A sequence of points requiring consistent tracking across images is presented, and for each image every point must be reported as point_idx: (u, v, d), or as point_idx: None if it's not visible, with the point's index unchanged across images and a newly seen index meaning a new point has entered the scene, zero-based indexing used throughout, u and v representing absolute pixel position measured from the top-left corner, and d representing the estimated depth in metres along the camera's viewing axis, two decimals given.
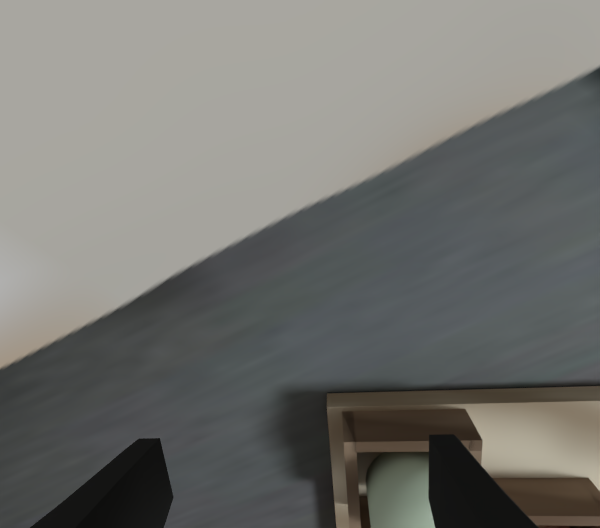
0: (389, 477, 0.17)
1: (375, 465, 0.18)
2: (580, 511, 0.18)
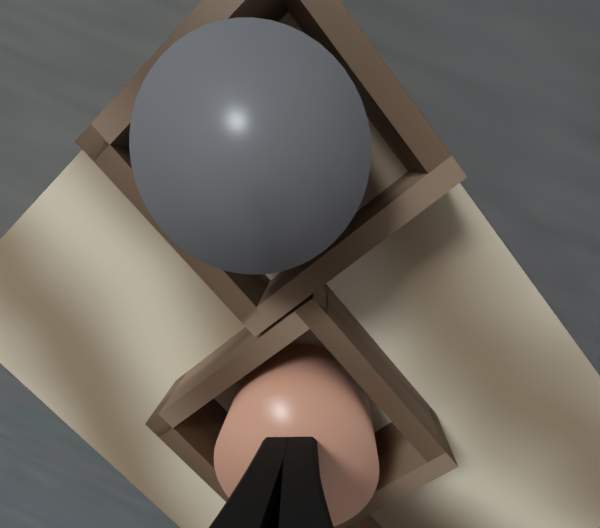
0: None
1: None
2: None
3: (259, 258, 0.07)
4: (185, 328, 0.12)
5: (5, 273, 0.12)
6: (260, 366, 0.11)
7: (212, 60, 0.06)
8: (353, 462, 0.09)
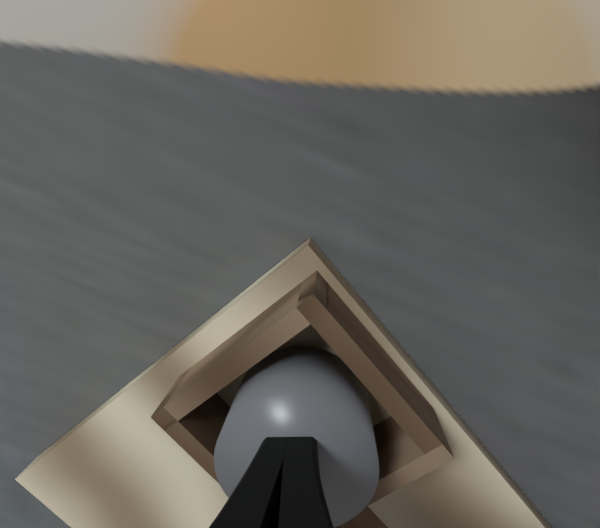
0: None
1: None
2: None
3: None
4: (223, 504, 0.14)
5: (73, 458, 0.14)
6: None
7: (273, 417, 0.09)
8: None
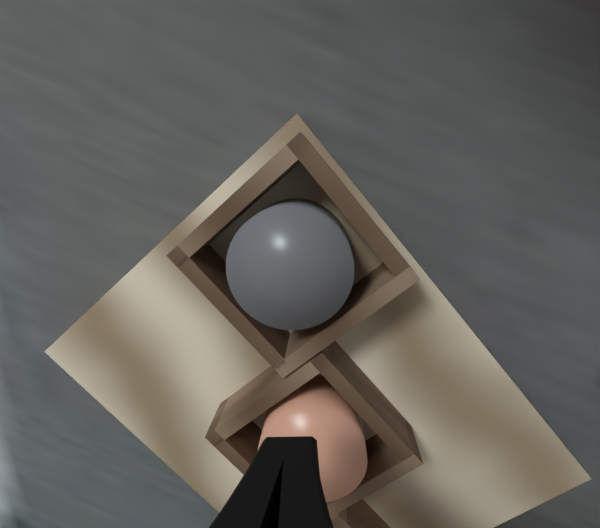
0: None
1: None
2: None
3: (294, 321, 0.13)
4: (227, 366, 0.17)
5: (96, 328, 0.17)
6: None
7: (272, 225, 0.12)
8: (350, 455, 0.14)
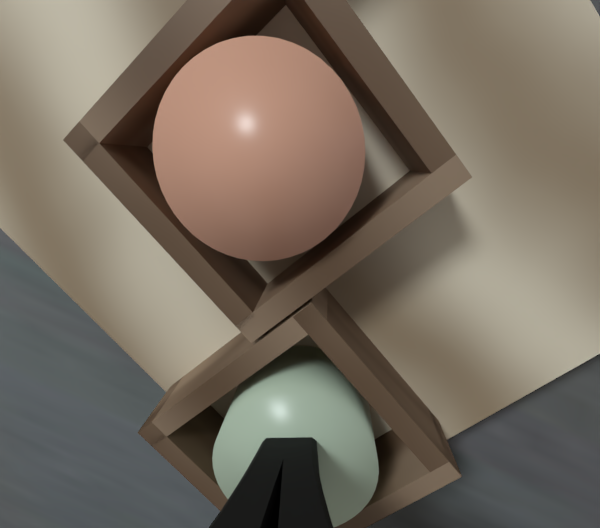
0: None
1: None
2: None
3: None
4: (125, 64, 0.10)
5: None
6: None
7: None
8: (331, 140, 0.07)
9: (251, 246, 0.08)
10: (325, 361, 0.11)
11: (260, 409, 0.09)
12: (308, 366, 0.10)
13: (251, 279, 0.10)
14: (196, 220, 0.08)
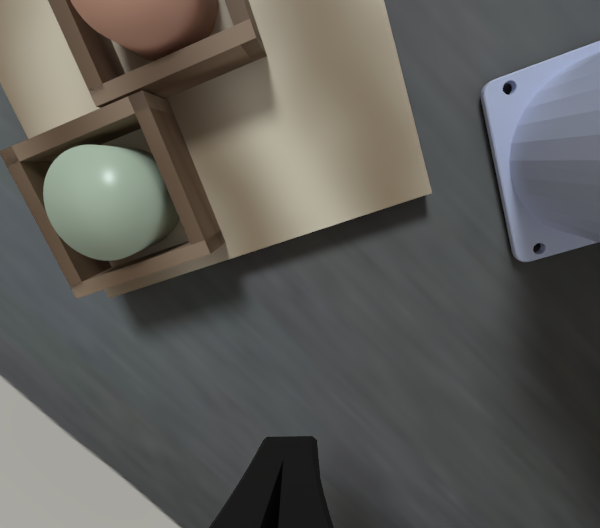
0: None
1: None
2: None
3: None
4: None
5: None
6: None
7: None
8: None
9: (107, 26, 0.12)
10: (154, 160, 0.15)
11: (86, 151, 0.13)
12: (138, 153, 0.15)
13: None
14: None
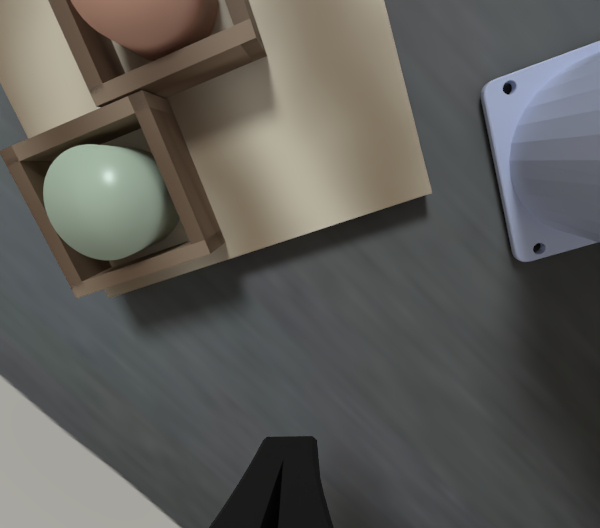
0: None
1: None
2: None
3: None
4: None
5: None
6: None
7: None
8: None
9: (107, 26, 0.12)
10: (154, 160, 0.15)
11: (86, 151, 0.13)
12: (138, 153, 0.15)
13: (117, 77, 0.14)
14: None
